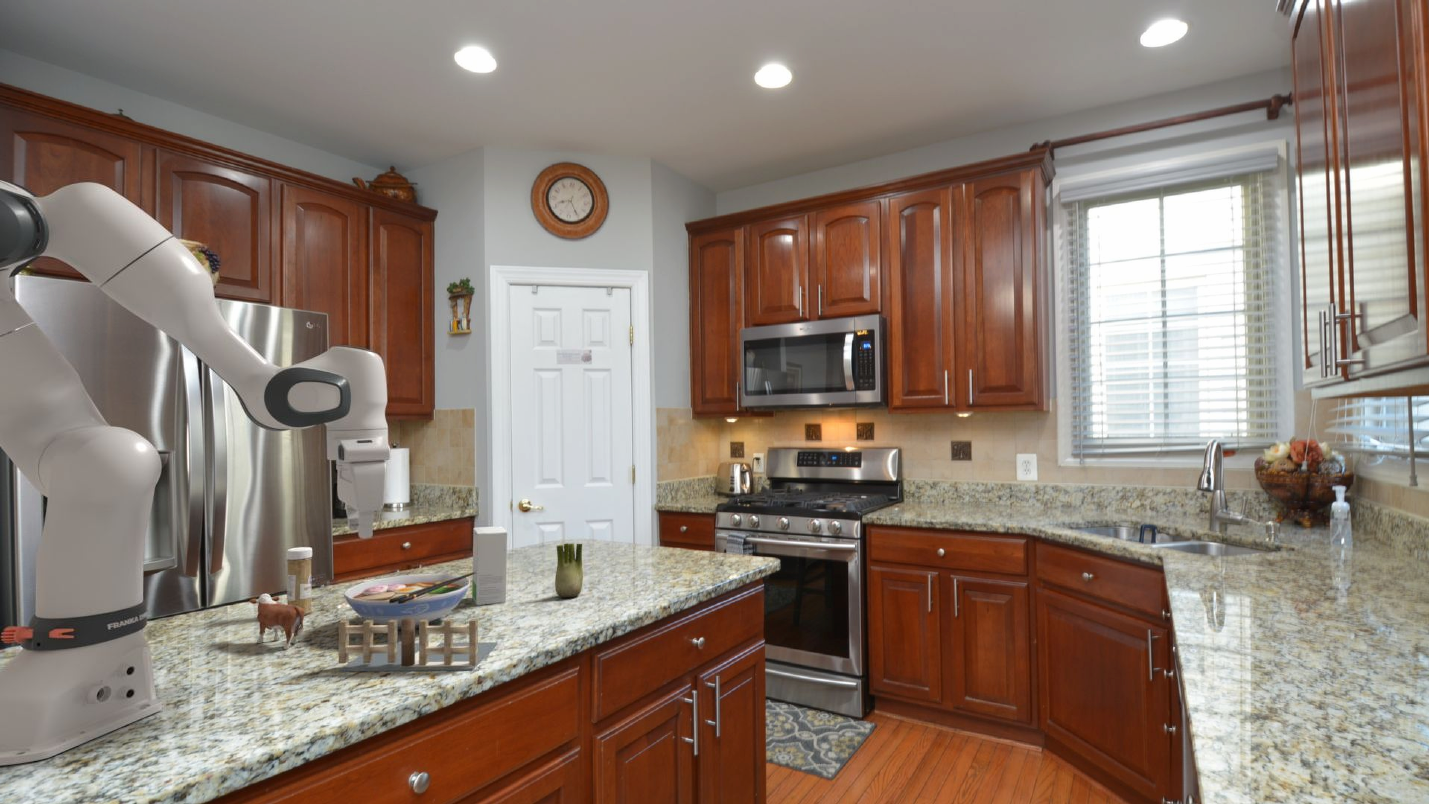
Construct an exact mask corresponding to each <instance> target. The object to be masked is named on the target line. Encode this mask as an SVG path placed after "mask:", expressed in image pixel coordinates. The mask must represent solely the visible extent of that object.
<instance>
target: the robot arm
mask: <svg viewBox="0 0 1429 804" xmlns="http://www.w3.org/2000/svg"><path fill="white" fill-rule="evenodd" d="M40 257H50V258H54V259H57V260H59V261H62V262H63V263H65V264H67V265H69V266H70V267H72V268H73V269H75V270H76V271H77V272H79V273H81V274H82V276H84V277H85V278H86V279H88V280H89V281H90V282H91V283H93V284H94V285H95V286H96V287H97V288H99V289H100V290H101V291H102V292H103V293H105V294H106V295H107V296H108V297H109V298H111V299H112V300H113V301H115V302H117V304H119V305H120V306H122V307H123V308H124V309H126V310H127V311H129V312H130V313H132V314H134V315H135V316H136V317H138V318H140V319H141V320H143V321H145V322H146V323H148V324H149V325H151V326H153V327H155V328H157V329H158V330H159V331H161V332H163V333H164V334H166V335H168V336H169V337H170V338H172V339H173V340H175V341H177V342H178V343H179V344H181V345H182V346H183V347H185V348H186V349H187V350H188V351H189V352H190V353H191V354H193V355H194V356H195V357H196V358H197V359H199V360H200V361H201V362H202V363H203V364H204V365H206V366H207V367H208V368H209V369H211V371H213V373H215V374H216V375H217V376H218V377H219V378H221V380H223V381H224V382H225V383H226V384H228V386H229V387H230V388H231V389H232V391H233V393H234V394H235V395H236V397H237V399H238V401H239V404H240V406H241V408H242V410H243V412H244V414H245V415H246V416H247V418H248V419H249V420H250V421H251V422H252V423H253V424H255V426H257V427H259V428H261V429H265V430H268V431H272V432H286V431H290V430H293V431H294V430H304V429H310V428H312V427H315V426H318V425H322V424H324V425H325V426H326V459H327V460H329V461H335V464H336V465H335V467H336V469H335V470H337V475H336V477H337V483H336V484H337V486H336V488H337V490H336V491H337V497H338V500H339V501H341V502H343V503H344V504H345V511H346V512H345V513H346V517H347V529H349V530H350V531H358V537H359V538H360V539H363V540H364V539H371V538H372V537H373V535H374V534H373V531H374V530H373V526H374V520H375V516H376V514H375V512H376V511H381V510H382V509H383V508H384V505H385V500H386V489H387V487H386V486H387V462H386V461H389V460H391V448H390V445H389V426H388V422H387V419H386V408H387V404H388V387H387V377H386V376H387V375H386V371H385V365H384V362H383V359H382V357H381V356H380V355H379V354H378V353H377V352H376V351H373V350H370V349H368V348H365V347H359V346H353V345H342V344H341V345H334V346H331V347H330V348H329V349H328V350H326V351H325V352H323V353H321V354H319V355H317V356H314V357H312V358H310V359H307V360H304V361H302V362H299V363H295V364H292V365H289V366H285V367H281V366H279V365H275V364H274V363H272V362H270V361H268V360H267V359H265V358H264V357H263V356H262V355H261V354H260V353H259V352H258V351H257V350H256V349H255V348H254V347H253V346H251V345H250V344H249V343H248V342H247V341H246V340H245V339H244V338H243V337H242V336H241V335H240V334H239V333H238V332H237V331H236V330H234V329H233V328H232V327H231V326H230V325H229V324H228V322H227V321H226V320H225V319H224V317H223V315H222V314H221V312H220V310H219V308H218V306H217V305H218V304H217V301H216V297H215V290H214V283H213V279H212V277H211V276H210V274H209V273H208V271H207V270H206V269H205V268H204V266H203V265H202V263H201V262H200V261H199V260H198V259H197V257H196V256H195V255H194V254H193V253H192V252H191V251H190V250H189V249H188V248H187V246H185V245H184V244H183V243H182V242H181V241H180V240H179V239H177V237H175V236H174V235H173V233H171V232H170V231H168V229H166V228H165V227H164V226H163V225H162V224H161V223H159V222H158V221H157V220H155V219H154V218H153V217H152V216H151V215H149V214H148V213H147V212H145V211H144V210H143V209H141V208H140V207H138V206H137V205H136V204H134V203H133V202H131V201H130V200H129V199H127V198H125V197H124V196H123V195H121V194H119V193H117V192H116V191H114V190H112V189H111V188H110V187H108V186H106V185H104V184H101V183H98V182H93V181H92V182H91V181H89V182H87V181H85V182H78V183H73V184H72V183H71V184H69V185H66V186H62V187H61V188H59V189H57V190H55V191H54V192H52V193H50V194H48V195H46V196H39V195H37V194H36V193H35V192H33V191H31V190H30V189H28V188H27V187H25V186H23V185H20V184H18V183H15V182H11V181H8V180H4V179H0V448H1V449H2V450H3V451H4V453H5V454H6V455H7V456H8V458H9V459H10V461H12V463H13V464H14V466H15V467H17V468H18V470H19V471H20V472H21V474H22V475H23V476H25V478H26V479H27V480H28V481H29V483H30V484H31V485H32V486H33V487H34V488H35V489H36V491H37V492H39V493H40V494H41V495H43V496H44V497H46V498H47V503H46V511H45V516H44V523H43V529H42V535H41V539H40V544H39V548H38V550H37V552H36V557H35V558H36V561H35V562H36V564H35V565H36V566H35V567H36V569H35V613H34V614H33V615H32V616H31V617H30V620H29V623H28V624H27V626H24V625H23V626H15V625H11V626H7V627H5V628H4V629H3V632H1V636H0V638H1V641H3V643H4V644H10V643H18V644H19V643H20V647H21V650H20V651H19V652H18V653H17V654H16V655H15V656H14V657H13V658H12V659H11V660H9V662H8V663H7V664H5V666H3V668H2V669H1V670H0V766H8V765H9V766H10V765H16V764H22V763H30V762H34V761H40V760H44V759H49V758H51V757H53V756H56V755H58V754H62V753H63V752H65V751H67V750H70V749H73V748H75V747H77V746H80V745H82V744H84V743H87V742H89V741H91V740H93V739H96V738H99V737H101V736H103V735H106V734H108V733H110V732H113V731H115V730H118V729H120V728H123V727H124V726H127V725H130V724H131V723H134V722H137V721H138V720H141V719H143V718H144V719H145V718H146V717H148V716H151V715H153V714H155V713H158V712H160V711H161V710H162V709H163V705H162V704H163V703H162V700H161V699H159V698H158V696H157V693H156V686H155V677H154V667H153V659H152V651H151V649H150V647H149V644H148V643H147V641H146V640H147V639H146V637H145V632H144V629H145V627H146V626H147V625H148V615H149V610H148V607H147V605H148V604H147V600H145V599H144V557H145V555H144V554H145V541H146V537H147V530H148V525H149V521H150V517H151V512H152V508H153V507H152V506H153V504H154V503H153V501H154V495H155V491H156V490H155V488H156V485H157V484H158V482H159V479H160V477H161V474H162V470H163V469H162V466H163V465H162V459H161V456H160V454H159V452H158V450H157V449H156V448H155V446H153V444H152V443H151V442H150V441H149V440H148V439H147V438H145V437H144V436H142V435H140V434H139V433H138V432H136V431H134V430H131V429H128V428H125V427H121V426H112V425H110V424H109V423H108V422H107V421H106V419H105V418H104V417H103V415H102V414H101V412H100V410H99V409H98V408H97V406H96V404H95V403H94V402H93V400H92V398H91V396H90V394H89V393H88V392H87V390H86V388H85V386H84V384H83V382H82V381H81V380H82V379H81V377H80V374H79V373H78V372H77V371H76V369H75V368H74V367H73V365H72V364H70V362H69V361H68V360H67V359H66V357H65V356H64V355H63V354H62V353H61V352H60V350H59V348H57V347H56V345H55V344H54V343H53V342H52V341H51V339H50V338H49V337H48V335H46V333H44V331H43V329H41V328H40V326H39V325H38V324H37V323H36V322H35V320H34V319H33V318H32V316H30V315H29V313H27V311H26V310H25V308H24V307H23V306H22V305H21V304H20V302H19V300H17V298H16V297H15V296H14V294H13V292H12V290H11V288H10V282H9V280H10V278H13V277H16V276H18V274H19V273H21V272H23V271H24V270H25V269H26V268H28V267H29V266H30V265H31V264H32V263H33V262H35V261H36V260H38V259H39V258H40Z"/></svg>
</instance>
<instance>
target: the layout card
mask: <svg viewBox="0 0 1429 804" xmlns="http://www.w3.org/2000/svg"><path fill="white" fill-rule="evenodd" d="M376 645H388V643H377V644H376ZM497 645H498V642H496V641H495V642H494V641H493V642H491V641H490V642H489V641H488V642H487V641H486V642H485V641H484V642H478V663H477V664H476V665H469V654H453V663H452V664H451V665H444V654H440V655H428V664H426V665H419V642H418V643H417V642H415V664H414V665H412V666H401V643H400V642H399V643H398V642H397V661H396V662H394V663H388V653H373V661H372V662H370V663H363V653H361V654H360V655H359V656H357V657H356V658H354V659H353V660H351V661H350V662H347V664H345V665H344V666H342V667H341V668H339V670H338V672H339V673H340V672H347V673H348V672H349V673H351V672H411V671H412V672H414V671H415V672H418V671H419V672H422V671H424V672H426V671H427V672H429V671H434V672H435V671H437V672H438V671H440V672H441V671H474V669H475V668H477V666H478V665H479V664H480V663H481V662H482V661H483V660H484V659H485V657H486V656H488V655H489V653H491V652H492V650H493V649H494V648H495V647H496V646H497ZM433 646H444V642H428V647H433ZM453 646H469V642H453Z"/></svg>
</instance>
